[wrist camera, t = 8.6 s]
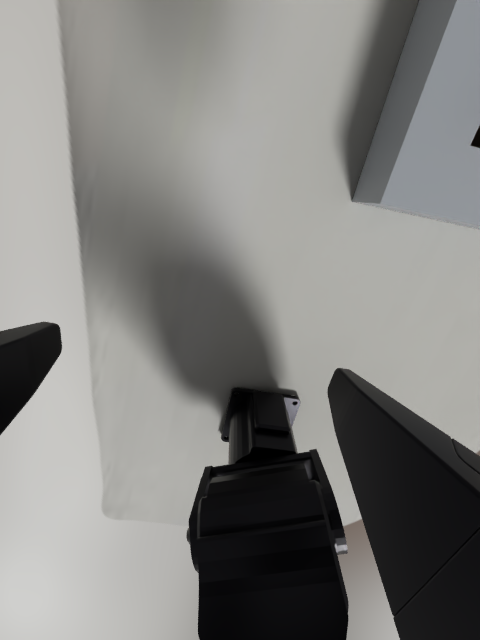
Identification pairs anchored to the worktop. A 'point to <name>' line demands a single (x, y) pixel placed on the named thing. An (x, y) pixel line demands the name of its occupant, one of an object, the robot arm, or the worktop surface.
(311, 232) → the worktop surface
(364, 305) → the worktop surface
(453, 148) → the socket
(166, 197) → the worktop surface
